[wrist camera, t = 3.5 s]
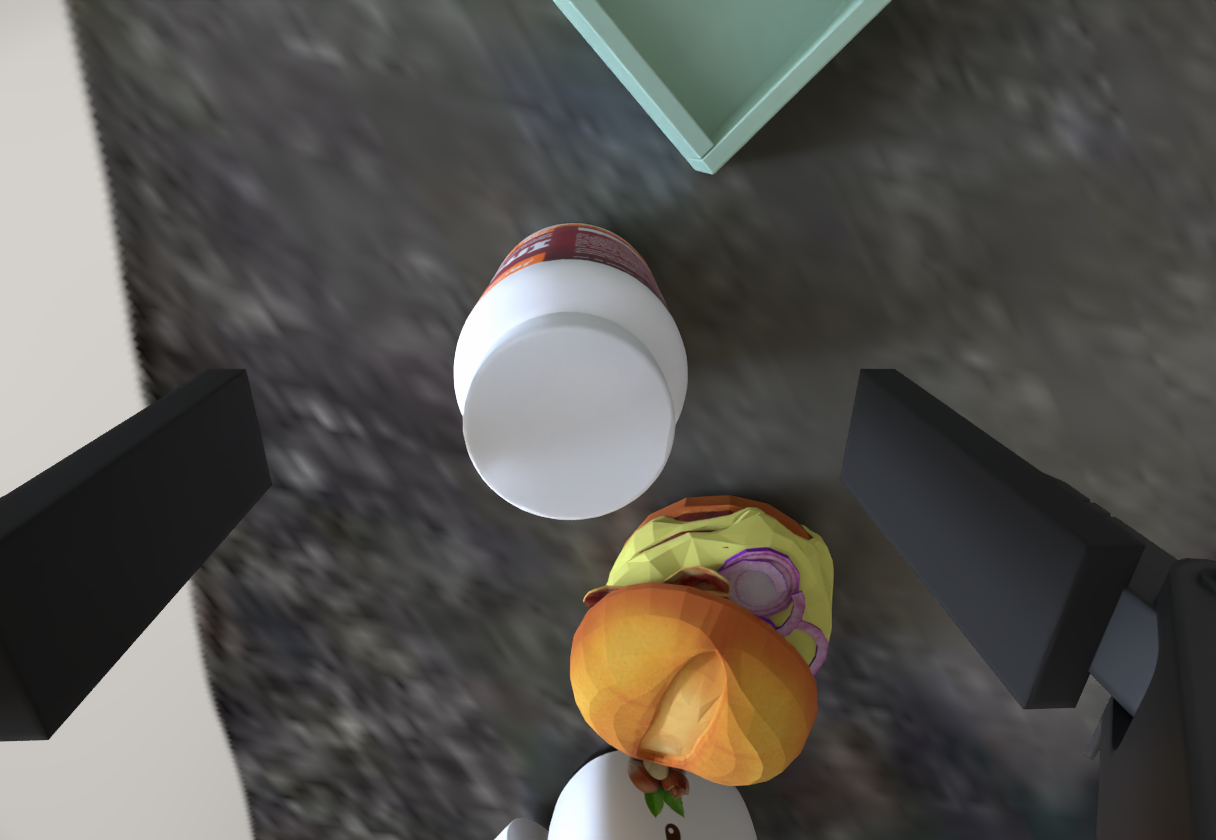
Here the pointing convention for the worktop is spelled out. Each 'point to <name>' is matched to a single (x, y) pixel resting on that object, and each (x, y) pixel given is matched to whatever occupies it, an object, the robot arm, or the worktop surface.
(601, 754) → the spread jar
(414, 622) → the worktop surface
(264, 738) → the worktop surface
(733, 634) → the cheeseburger
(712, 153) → the tray
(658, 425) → the pill bottle
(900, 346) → the worktop surface
